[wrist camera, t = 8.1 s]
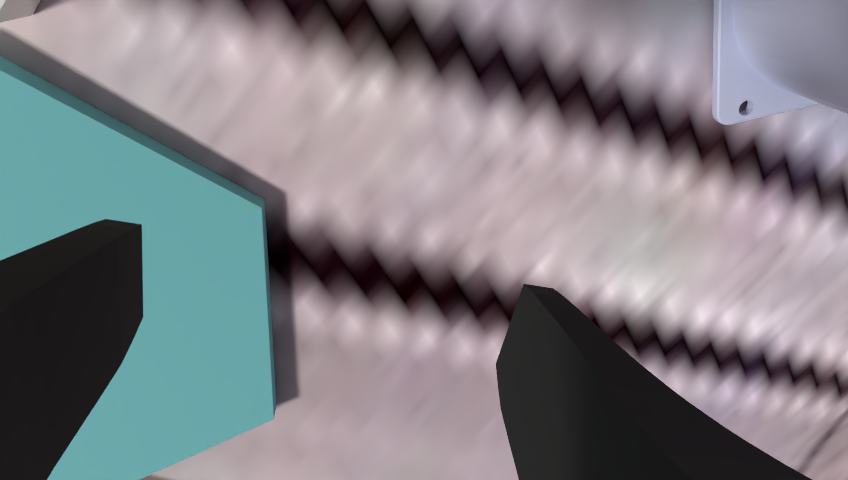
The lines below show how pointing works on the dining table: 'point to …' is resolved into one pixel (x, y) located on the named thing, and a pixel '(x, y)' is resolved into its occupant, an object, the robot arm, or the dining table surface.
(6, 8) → the tile
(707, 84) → the dining table surface
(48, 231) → the plaque
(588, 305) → the dining table surface
